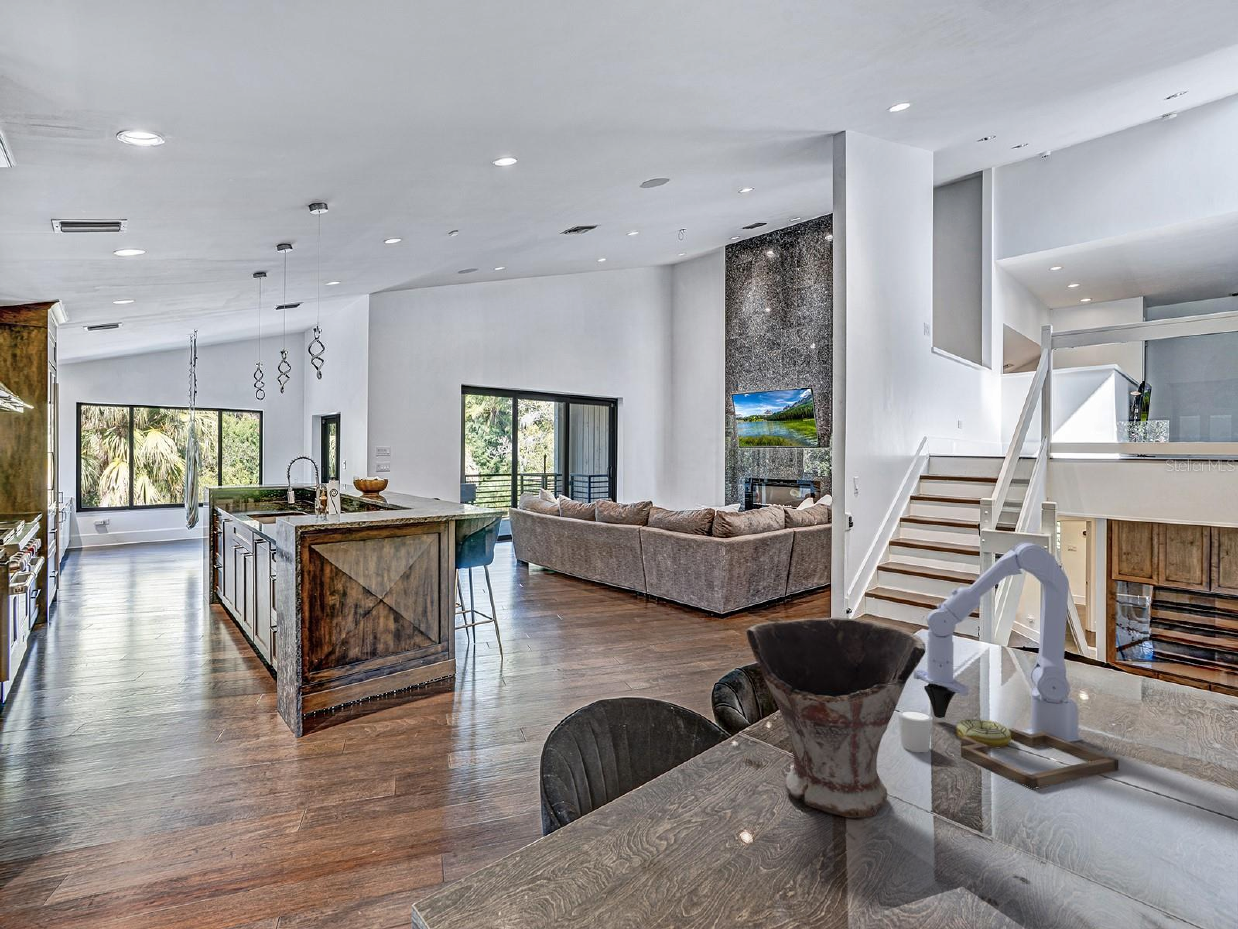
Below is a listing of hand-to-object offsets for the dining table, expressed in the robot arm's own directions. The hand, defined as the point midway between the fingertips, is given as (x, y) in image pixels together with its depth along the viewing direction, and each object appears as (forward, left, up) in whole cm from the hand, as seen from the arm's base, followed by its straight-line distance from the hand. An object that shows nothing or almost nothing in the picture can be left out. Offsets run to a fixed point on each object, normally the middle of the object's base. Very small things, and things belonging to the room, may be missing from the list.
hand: (939, 716), depth 163 cm
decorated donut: (0, +12, -2) cm, 12 cm away
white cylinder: (+18, +10, -1) cm, 21 cm away
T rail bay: (0, +23, -1) cm, 23 cm away
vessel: (+49, +21, -1) cm, 53 cm away
